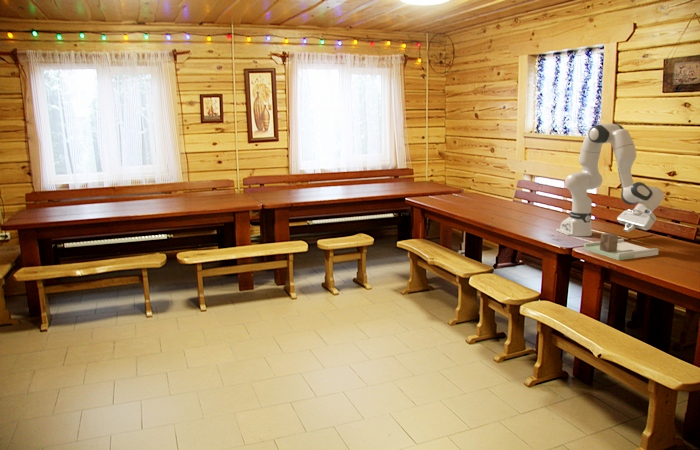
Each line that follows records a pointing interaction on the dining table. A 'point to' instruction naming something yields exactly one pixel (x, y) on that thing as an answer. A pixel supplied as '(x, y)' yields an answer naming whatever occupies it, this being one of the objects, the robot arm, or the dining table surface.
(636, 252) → the board
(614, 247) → the walnut block
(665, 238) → the dining table surface
